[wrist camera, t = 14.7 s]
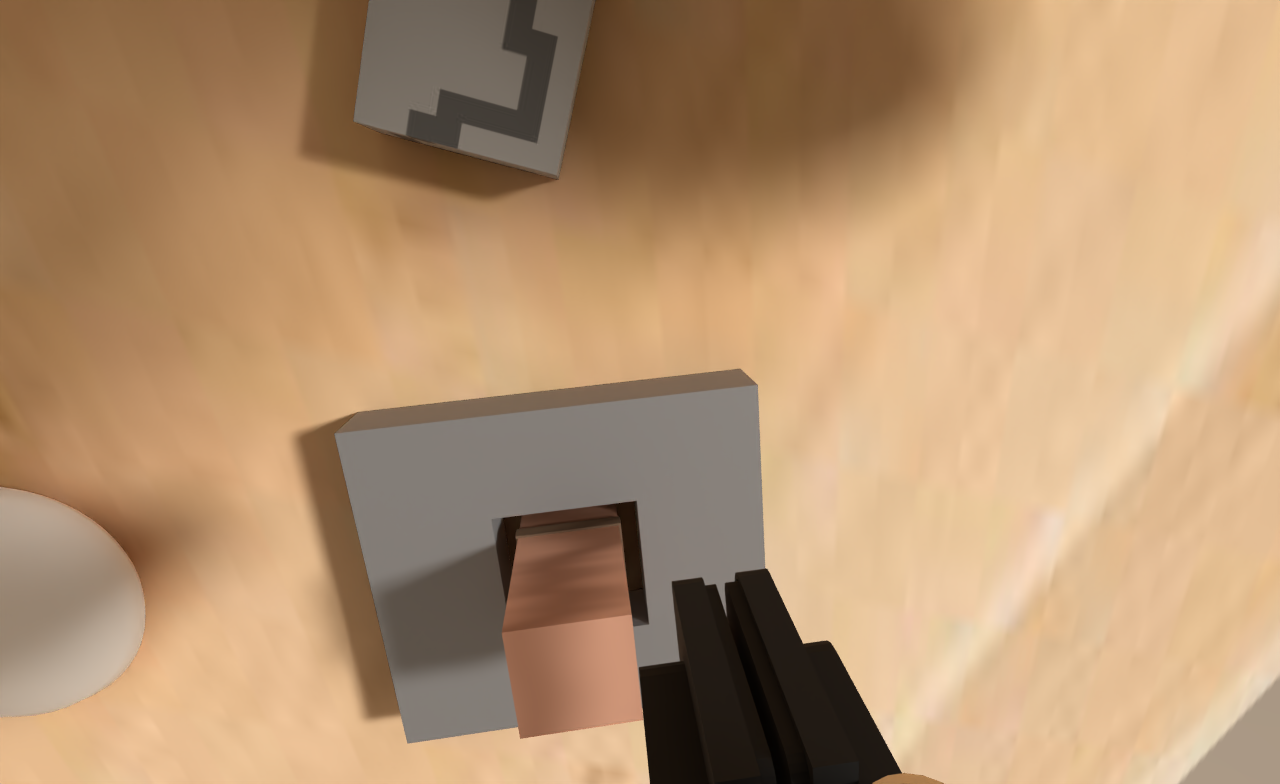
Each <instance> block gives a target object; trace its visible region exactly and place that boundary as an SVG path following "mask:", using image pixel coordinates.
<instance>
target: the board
mask: <svg viewBox="0 0 1280 784" xmlns="http://www.w3.org/2000/svg"><path fill="white" fill-rule="evenodd" d="M334 435H335V439H336V443H337V447H338V452H339V456H340V460H341V464H342V469H343V473H344V477H345V481H346V485H347V490H348V494H349V498H350V502H351V507H352V511H353V515H354V519H355V523H356V528H357V532H358V536H359V540H360V545H361V549H362V553H363V557H364V562H365V566H366V570H367V574H368V578H369V583H370V587H371V591H372V595H373V600H374V604H375V608H376V612H377V617H378V621H379V625H380V629H381V633H382V638H383V642H384V646H385V650H386V655H387V659H388V663H389V667H390V671H391V676H392V680H393V684H394V688H395V693H396V697H397V701H398V705H399V710H400V714H401V718H402V722H403V726H404V731H405V735H406V739H407V743H415V742H421V741H428V740H435V739H441V738H448V737H455V736H461V735H468V734H475V733H481V732H488V731H495V730H501V729H508V728H515V727H518V723H517V717H516V711H515V706H514V700H513V694H512V689H511V683H510V677H509V672H508V666H507V660H506V655H505V649H504V643H503V638H502V628H503V622H504V616H505V610H506V605H507V599H508V593H509V587H510V581H511V576H512V567H511V561H510V555H509V549H508V543H507V537H506V531H505V525H504V519H503V518H504V517H512V516H520V515H527V514H535V513H543V512H551V511H559V510H567V509H575V508H583V507H591V506H599V505H606V504H614V503H622V502H630V501H634V508H635V518H636V528H637V538H638V547H639V557H640V567H641V577H642V587H643V589H640V590H633V591H628V593H629V599H630V606H631V613H632V622H633V631H634V640H635V649H636V659H637V668H638V677H639V667H643V666H650V665H657V664H664V663H671V662H678V661H680V659H679V650H678V641H677V631H676V622H675V613H674V603H673V594H672V581H677V580H685V579H692V578H699V577H702V578H703V580H704V583H705V585H712V584H716V586H717V589H718V592H719V595H720V598H721V601H722V604H723V607H724V610H725V613H726V601H725V583H726V582H734V581H735V573H736V572H743V571H751V570H758V569H765V552H764V528H763V503H762V479H761V454H760V430H759V405H758V385H757V384H756V383H755V382H754V381H753V380H752V379H751V378H750V377H749V376H748V375H746V374H745V373H744V372H743V371H742V370H741V369H735V370H726V371H717V372H709V373H700V374H691V375H682V376H673V377H664V378H656V379H647V380H638V381H629V382H620V383H611V384H603V385H594V386H585V387H576V388H567V389H559V390H550V391H541V392H532V393H523V394H514V395H506V396H497V397H488V398H479V399H470V400H461V401H453V402H444V403H435V404H426V405H417V406H408V407H400V408H391V409H382V410H373V411H364V412H357V413H356V414H355V415H354V416H353V417H352V418H351V419H350V420H349V421H348V422H346V423H345V424H344V425H343V426H342V427H341V428H340V429H339V430H338V431H337V432H336V433H334ZM726 616H727V614H726ZM639 686H640V677H639ZM640 695H641V687H640ZM641 704H642V697H641ZM642 708H643V707H642Z"/></svg>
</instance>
